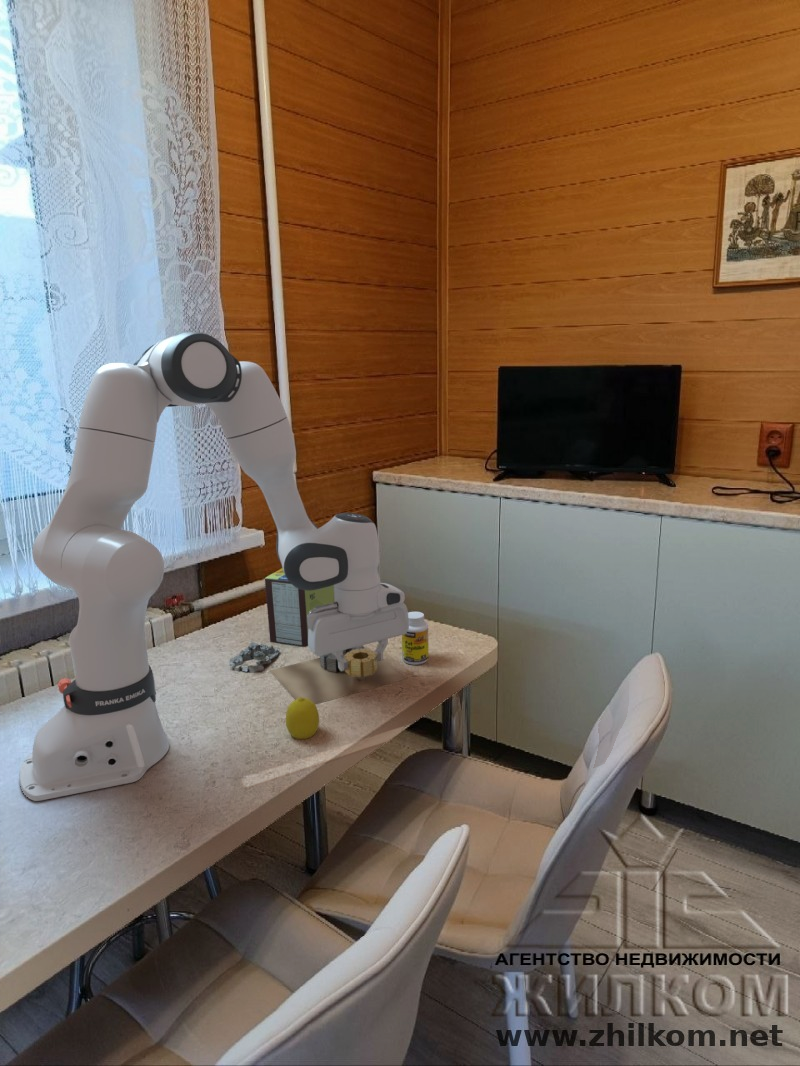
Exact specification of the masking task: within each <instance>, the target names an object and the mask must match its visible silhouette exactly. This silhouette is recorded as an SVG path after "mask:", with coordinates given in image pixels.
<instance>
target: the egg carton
mask: <svg viewBox="0 0 800 1066" xmlns="http://www.w3.org/2000/svg"><path fill="white" fill-rule="evenodd" d="M280 652H281V648H280V647H278V648H274V646H273V645H270V646H268V645H267V644H263V643H261V644H258V643H256V642H254V641H252V642H250V644H248V646H247V647H246V648H244V649H242V650H241V651H240V652H239V653H238V654H237V655H236V656H234V657H232V658H231V657H230V659H229V664H228V666H229V667H230V668H234V671H236V672H240V671H242V672H248V671H249V673H255V672H256V673H257V672H261V671H263V670H264V669H265V667H264V665H266V664H271V662H272V659H274V658H277V657H278V655H279V654H281V653H280ZM252 659H253V660H256V662H255V664H252V665H251V664H250V665H248V666H242V664H244V663H245V662H248V661H252ZM236 666H238V667H236Z"/></svg>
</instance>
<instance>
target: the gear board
mask: <svg viewBox="0 0 800 1066" xmlns="http://www.w3.org/2000/svg"><path fill="white" fill-rule="evenodd" d="M364 648H365V649H368V650H370V651H371V650H372V649H371V648H370V647H368V646H366V645H364ZM345 653H346V651H345V650H343V654H345ZM269 672H270V673H271V674H272V675H273V677H274V678H276V679H275V680H277V681H278V682H279V684H281V686H282V687H283V688H284V689H285V690H286V692H288V694H289V695H290V696H291V697H292V698H293V699H294V700H296V699H298V698H300V697H303V698H307V699H309V700H311V701H312V702H313V703H314V704H315V705H318V704H321V703H326V702H329V701H332V700H336V699H340V698H343V697H347V696H350V695H354V694H356V693H361V692H364V691H367V690H371V689H375V688H378V687H382V686H385V685H389V684H392V683H397V682H401V681H403V680H406V679H408V677H407V675H405V674H404V673H402V672H401V671H400V670H398V669H397V668H396V667H395V666H393V665H392V664H391V663H389V662H388V661H387V660H385V659H384V658H383V660H381V661H378V662H377V670H376V672H375V673H373V675H369V676H366V677H363V676H361V677H354V676H351V675H348V674H347V673H346V672H340V670H338V671H337V672H332V671H327V669H323V668H322V667H321V666H320V657H317V658H313V659H310V660H305V661H301V662H298V663H293V664H290V665H286V666H282V667H281V666H280V667H277V668H273V669H270V670H269Z"/></svg>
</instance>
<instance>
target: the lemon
mask: <svg viewBox="0 0 800 1066" xmlns="http://www.w3.org/2000/svg"><path fill="white" fill-rule="evenodd" d="M316 705H317V704H314V703H313V702H312V701H311V700H309V699H307V698H303V697H300V698H298V699H296V700H295V699H294V700H293V701H291V703H290V704H289V705H288V707H287V709H286V713H285V725H286V728H287V731H288V733H289V734H290V735H291V736H292V737H293V738H295V739H297V740H306V739H308V738H311V737H313V736H314V735H315V734H316V732H317V731H318V728H319V725H320V714H319V711H318V708H317V706H316Z"/></svg>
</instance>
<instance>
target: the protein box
mask: <svg viewBox="0 0 800 1066" xmlns="http://www.w3.org/2000/svg"><path fill="white" fill-rule="evenodd" d="M264 583H265V584H264V585H265V586H264V587H265V595H266V596H265V597H266V607H267V609H266V610H267V619H268V632H269V642H271V643H276V644H277V643H278V644H283V645H288V646H289V645H290V646H296V647H297V646H298V647H302V648H307V647H308V630H309V628H308V624H307V615H308V614H309V612H310V611H311V610H313V609H314V607H316V606H323V605H326V604H330V603H334V602H335V600H334V585H332V586H329V587H325V588H321V589H317V590H311V591H307V590H301V589H298V588H296V587H295V586H293V585H292V584H291V583H290V582H289V581H288V579H287V578H286V575H285V573H284V570H283V567H281V568H279V569H278V570H276V571H275V572H273V573H271V574H269V575H267V576H266V577H265V578H264ZM312 613H313V612H312Z"/></svg>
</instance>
